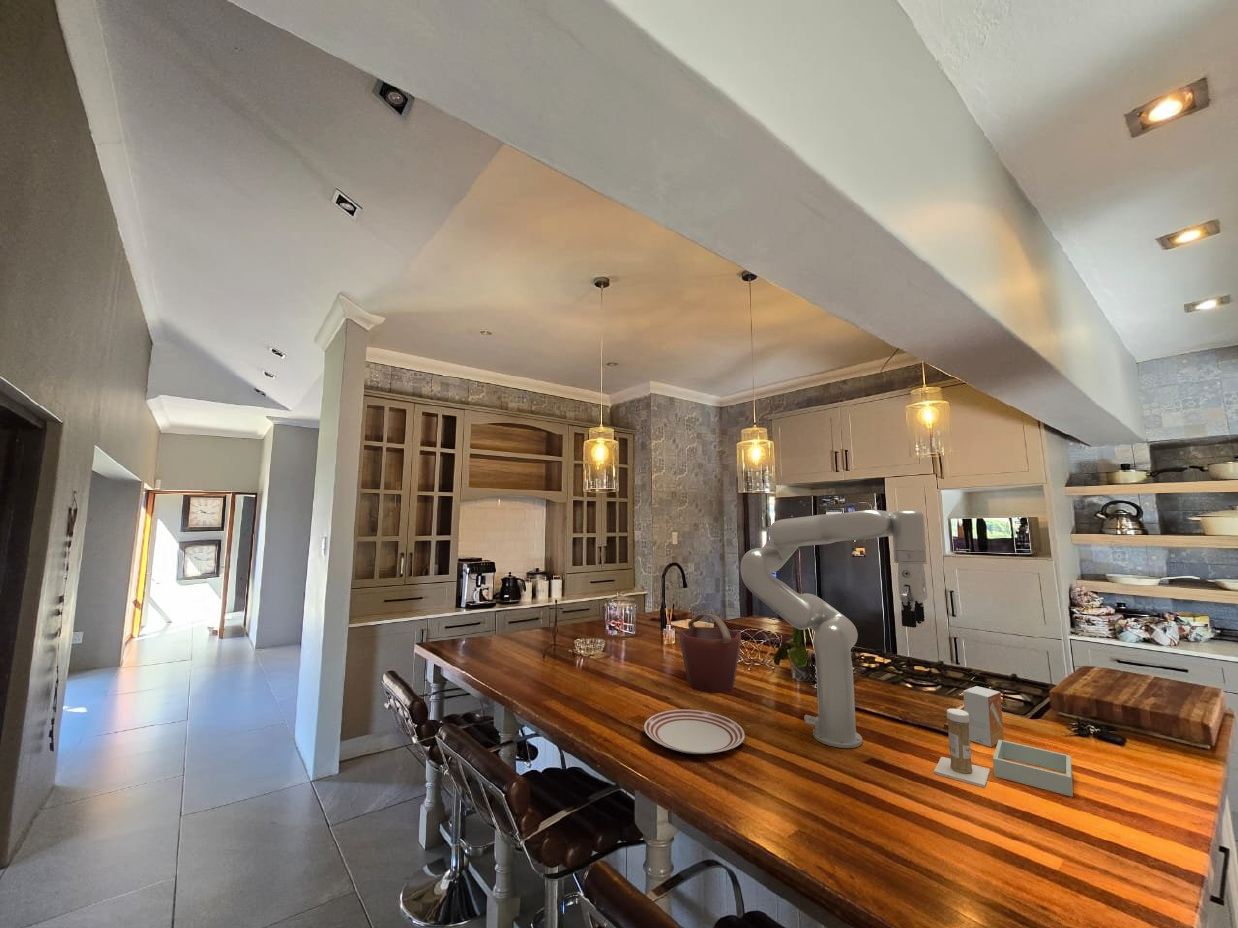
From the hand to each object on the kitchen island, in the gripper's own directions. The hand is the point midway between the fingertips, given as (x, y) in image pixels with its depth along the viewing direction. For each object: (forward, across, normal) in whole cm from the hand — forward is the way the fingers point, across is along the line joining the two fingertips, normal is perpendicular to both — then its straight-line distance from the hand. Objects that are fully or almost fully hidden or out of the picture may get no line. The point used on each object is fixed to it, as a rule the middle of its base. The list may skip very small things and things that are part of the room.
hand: (913, 623), depth 135 cm
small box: (+34, +24, -11) cm, 43 cm away
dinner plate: (+34, -28, +50) cm, 67 cm away
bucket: (+34, +16, +70) cm, 79 cm away
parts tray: (+33, +8, -22) cm, 41 cm away
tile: (+33, -2, -9) cm, 35 cm away
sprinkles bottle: (+33, -2, -9) cm, 34 cm away
